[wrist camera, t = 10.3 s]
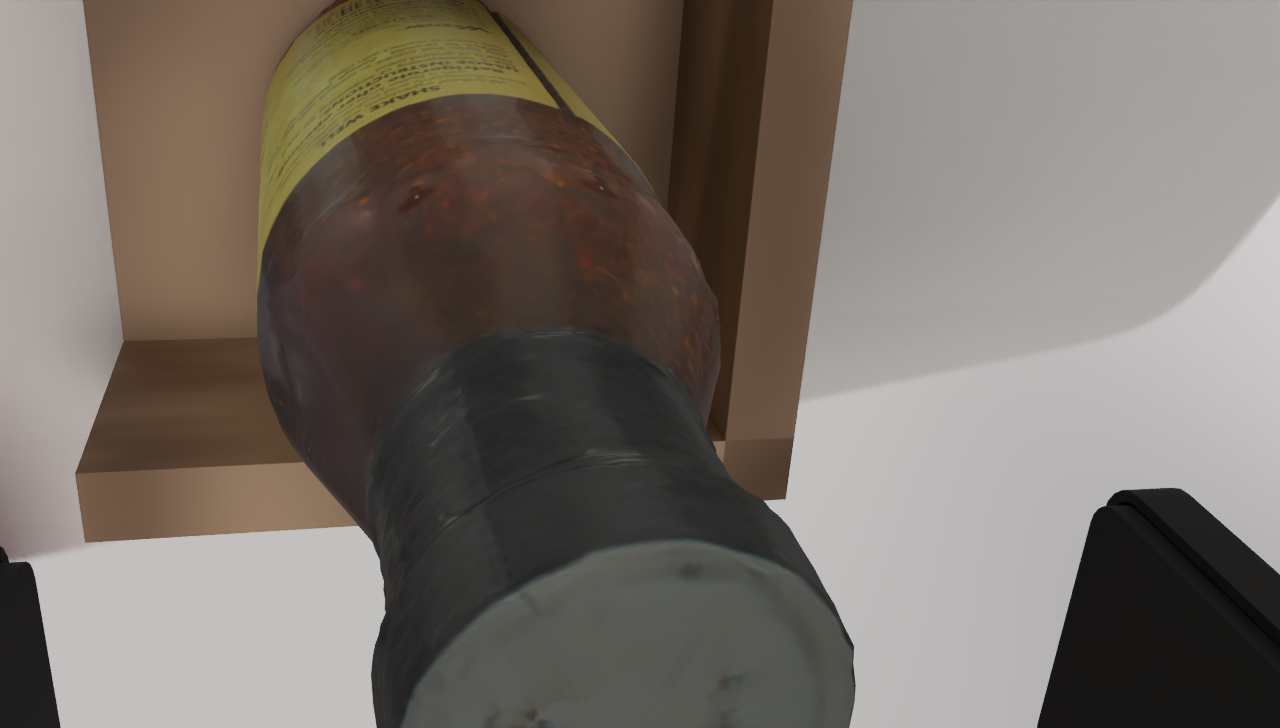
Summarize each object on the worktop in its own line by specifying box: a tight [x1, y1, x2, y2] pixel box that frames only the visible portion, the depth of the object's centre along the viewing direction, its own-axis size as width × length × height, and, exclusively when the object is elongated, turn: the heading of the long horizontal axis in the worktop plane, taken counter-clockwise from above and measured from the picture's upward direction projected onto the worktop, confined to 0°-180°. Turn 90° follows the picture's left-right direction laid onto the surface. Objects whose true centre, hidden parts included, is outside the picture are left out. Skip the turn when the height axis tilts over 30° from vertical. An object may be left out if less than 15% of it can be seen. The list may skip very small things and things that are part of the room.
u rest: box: [75, 0, 853, 543], centre depth 25 cm, size 14×14×7 cm
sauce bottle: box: [256, 0, 855, 728], centre depth 19 cm, size 6×6×20 cm
